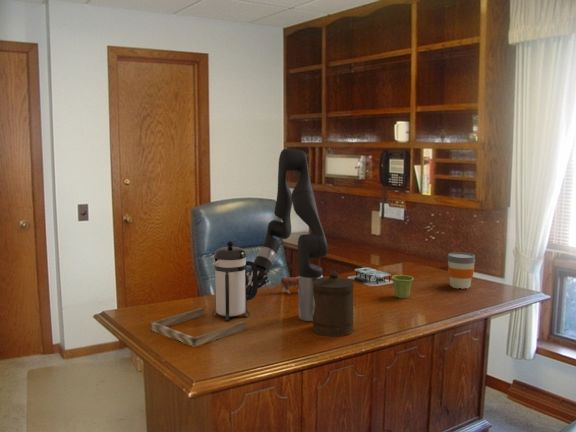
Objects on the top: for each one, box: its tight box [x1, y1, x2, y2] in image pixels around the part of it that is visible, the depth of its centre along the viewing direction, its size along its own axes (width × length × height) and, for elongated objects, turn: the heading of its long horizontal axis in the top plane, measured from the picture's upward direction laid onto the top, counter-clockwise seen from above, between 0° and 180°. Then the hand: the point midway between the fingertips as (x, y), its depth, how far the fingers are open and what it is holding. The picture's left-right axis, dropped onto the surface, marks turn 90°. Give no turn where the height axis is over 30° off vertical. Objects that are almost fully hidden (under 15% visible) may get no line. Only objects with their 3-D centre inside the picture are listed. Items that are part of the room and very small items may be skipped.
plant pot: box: [391, 274, 414, 299], centre depth 255 cm, size 9×9×9 cm
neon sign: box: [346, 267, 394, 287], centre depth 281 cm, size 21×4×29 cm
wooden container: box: [312, 270, 355, 337], centre depth 211 cm, size 15×15×22 cm
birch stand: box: [149, 307, 247, 346], centre depth 212 cm, size 25×24×3 cm
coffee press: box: [211, 241, 259, 322], centre depth 228 cm, size 17×16×30 cm
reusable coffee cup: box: [447, 252, 476, 290], centre depth 272 cm, size 13×13×15 cm
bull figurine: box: [280, 276, 299, 295], centre depth 261 cm, size 4×13×8 cm, turn 89°
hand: (247, 294), depth 237 cm, fingers closed
